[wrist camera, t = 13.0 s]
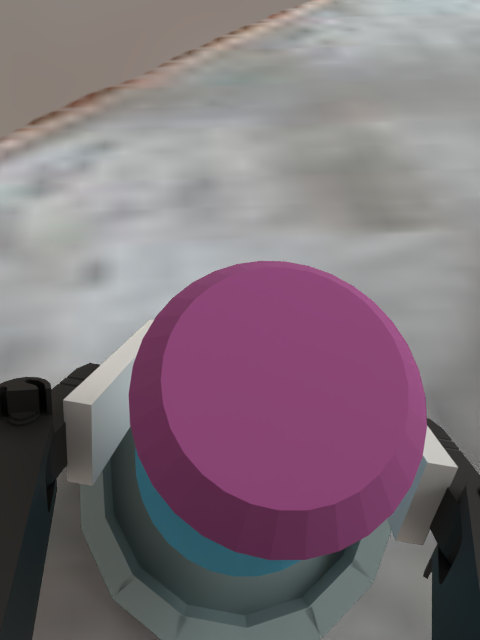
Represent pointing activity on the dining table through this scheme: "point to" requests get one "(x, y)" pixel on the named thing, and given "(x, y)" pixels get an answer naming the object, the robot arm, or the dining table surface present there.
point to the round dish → (212, 573)
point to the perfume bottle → (273, 418)
